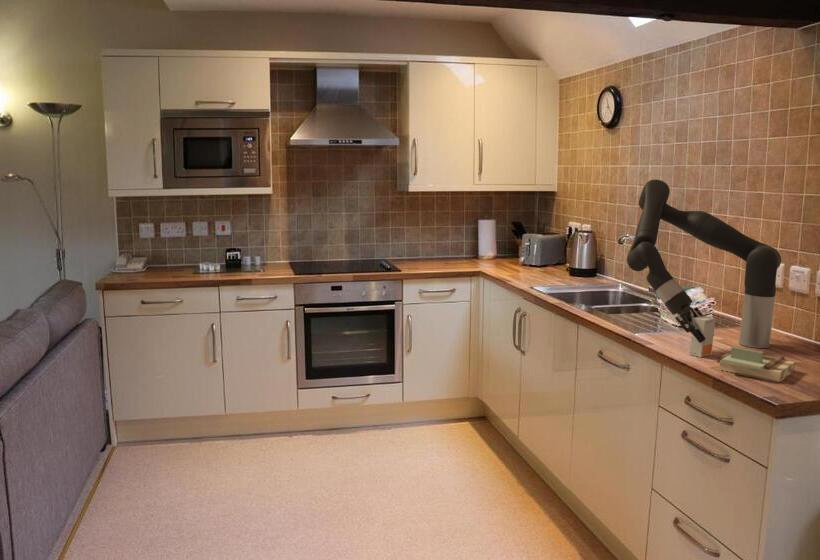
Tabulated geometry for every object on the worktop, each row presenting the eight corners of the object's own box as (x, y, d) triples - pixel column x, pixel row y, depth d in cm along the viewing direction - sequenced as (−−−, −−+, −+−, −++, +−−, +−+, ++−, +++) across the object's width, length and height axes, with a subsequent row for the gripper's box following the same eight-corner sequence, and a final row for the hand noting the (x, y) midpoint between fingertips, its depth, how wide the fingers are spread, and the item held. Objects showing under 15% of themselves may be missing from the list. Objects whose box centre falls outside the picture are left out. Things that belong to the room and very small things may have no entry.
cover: (731, 355, 205) (733, 343, 204) (770, 363, 198) (772, 350, 197) (721, 361, 199) (722, 348, 198) (761, 369, 192) (762, 356, 191)
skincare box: (701, 357, 214) (705, 320, 212) (688, 354, 218) (692, 317, 216) (712, 355, 218) (716, 318, 216) (699, 352, 221) (703, 315, 219)
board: (736, 359, 213) (738, 347, 213) (794, 371, 203) (795, 358, 202) (719, 370, 202) (720, 356, 201) (778, 382, 191) (780, 368, 190)
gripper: (673, 300, 229) (706, 341, 223) (655, 306, 219) (689, 349, 213) (691, 287, 225) (724, 328, 219) (673, 292, 214) (708, 336, 208)
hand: (707, 339), depth 216 cm, fingers open, 7 cm apart
